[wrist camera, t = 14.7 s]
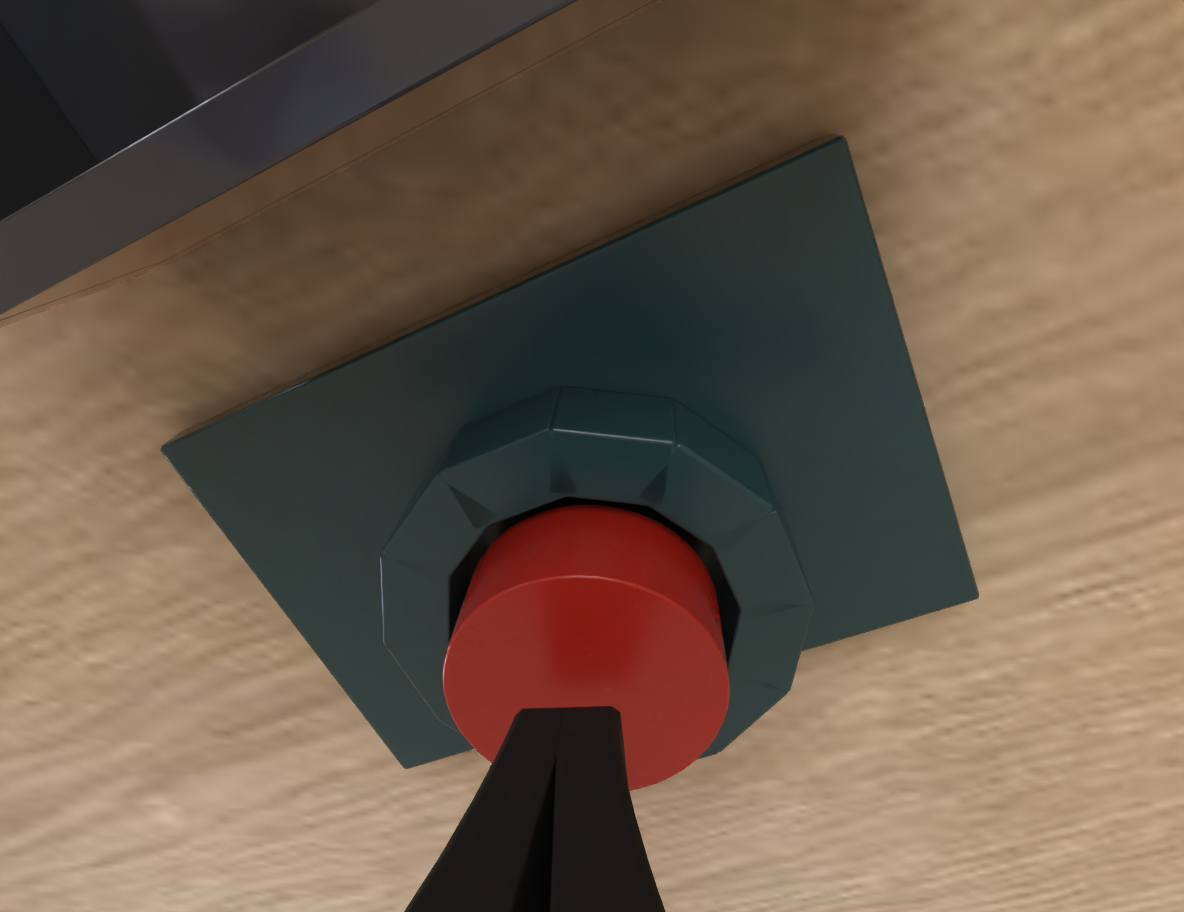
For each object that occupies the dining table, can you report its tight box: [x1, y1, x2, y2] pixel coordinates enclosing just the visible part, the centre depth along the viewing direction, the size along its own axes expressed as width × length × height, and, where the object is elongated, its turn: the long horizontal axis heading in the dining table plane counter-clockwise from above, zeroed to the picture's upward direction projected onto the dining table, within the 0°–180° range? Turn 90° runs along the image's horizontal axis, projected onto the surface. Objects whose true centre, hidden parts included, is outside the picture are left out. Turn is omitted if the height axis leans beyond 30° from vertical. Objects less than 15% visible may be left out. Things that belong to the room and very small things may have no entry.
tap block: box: [160, 134, 979, 769], centre depth 14 cm, size 13×9×2 cm
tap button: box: [442, 504, 730, 791], centre depth 12 cm, size 4×4×2 cm
